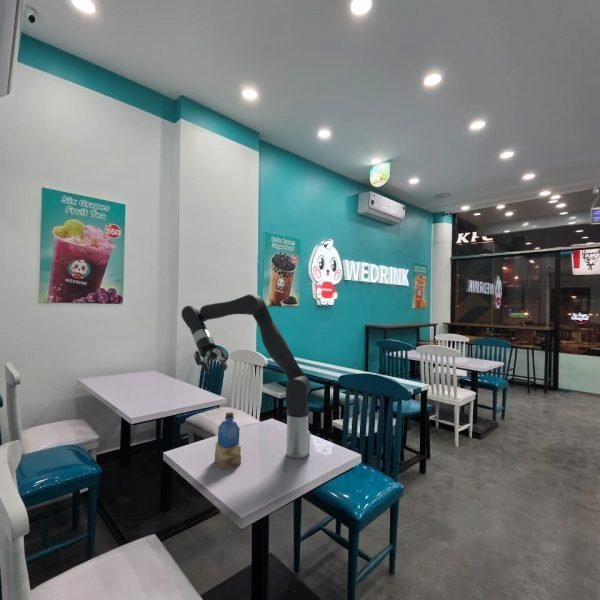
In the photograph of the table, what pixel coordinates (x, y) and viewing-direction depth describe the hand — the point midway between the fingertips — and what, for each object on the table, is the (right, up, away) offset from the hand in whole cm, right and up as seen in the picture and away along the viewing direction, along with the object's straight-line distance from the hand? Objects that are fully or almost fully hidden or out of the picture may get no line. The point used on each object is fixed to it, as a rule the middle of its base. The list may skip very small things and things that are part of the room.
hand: (217, 370), depth 144 cm
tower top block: (+6, -32, -8) cm, 34 cm away
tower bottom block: (+6, -36, -8) cm, 38 cm away
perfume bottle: (+6, -28, -7) cm, 30 cm away
